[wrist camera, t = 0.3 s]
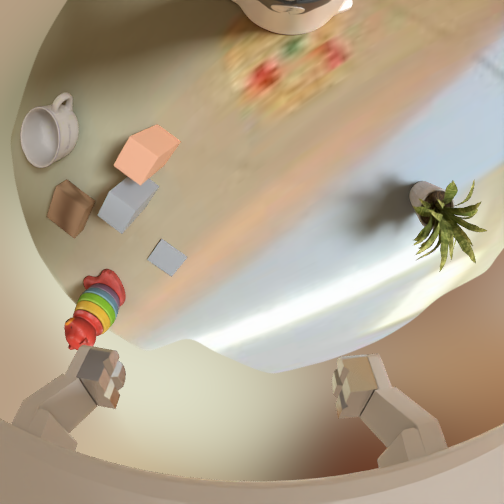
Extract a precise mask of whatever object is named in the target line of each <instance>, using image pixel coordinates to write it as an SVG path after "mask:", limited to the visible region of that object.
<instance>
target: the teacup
mask: <svg viewBox="0 0 504 504" xmlns="http://www.w3.org/2000/svg"><path fill="white" fill-rule="evenodd" d="M65 100H66V105H62V102H63V101H65ZM72 104H73V97H72V95H71V94H69V93H67V92H65V93H62V94H60V95H59V96H58V97H57V98H56V99H55V100H54V102H53V104H52V105H46V106H42V107H35V108H33V109H31V110H30V111H29V112H28V113H27V115H26V116H25V118H24V120H23V123H22V126H21V134H20V139H21V145H22V149H23V152H24V154H25V156H26V158H27V160H28V161H29V162H30V163H31V164H32V165H34V166H36V167H38V168H44V167H47V166H49V165H51V164H52V163H54V162H56V161H58V160H60V159H62V158H64V157H65V156H67V155H68V154H69V153H70V152H71V151H72V150H73V148H74V147H75V145H76V142H77V140H78V135H79V125H78V120H77V118H76V115H75V114H74V112H73V111H72V110H73V106H72Z"/></svg>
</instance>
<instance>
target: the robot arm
mask: <svg viewBox="0 0 504 504" xmlns="http://www.w3.org/2000/svg"><path fill="white" fill-rule="evenodd" d="M232 1H233V2H235V3H237V4H238V5H239V6H240V7H241V9H242V10H243V12H244V13H245V14H246V16H247V17H248V18H249V19H250V20H251V21H253V22H254V23H255V24H257V25H258V26H260V27H262V28H264V29H266V30H268V31H271V32H275V33H279V34H287V35H296V34H304V33H308V32H311V31H314V30H316V29H318V28H320V27H321V26H323V25H324V24H325V23H327V22H328V21H329V20H330V19H331V18H332V17H333V16H334V15H336V14H339V13H342V12H345V11H347V10H349V9H350V8H351V7H352V0H232ZM118 359H119V355H118V353H117V351H115V350H109V349H103V348H98V347H92V346H87V345H82V346H80V347H79V349H78V351H77V353H76V354H75V356H74V358H73V360H72V362H71V364H70V366H69V368H68V370H67V372H66V374H65V375H64V374H61V375H60V376H59V377H57V378H56V379H54V380H53V381H51V382H50V383H48V384H47V385H45V386H44V387H42V388H41V389H39V390H38V391H36V392H35V393H33V394H32V395H30V396H29V397H28V398H26V399H25V400H23V402H22V404H21V406H20V408H19V410H18V412H17V414H16V416H15V418H14V420H13V422H12V424H10V423H8V422H6V421H4V420H2V419H0V504H504V423H503V424H501V425H499V426H497V427H495V428H493V429H491V430H489V431H487V432H485V433H483V434H480V435H478V436H476V437H474V438H471V439H469V440H467V441H464V442H462V443H460V444H457V445H454V446H452V447H449V448H448V447H447V444H446V441H445V439H444V436H443V433H442V430H441V427H440V425H439V422H438V420H437V419H436V418H434V417H433V416H432V415H431V414H429V413H428V412H427V411H425V410H424V409H423V408H422V407H420V406H419V405H418V404H416V403H415V402H414V401H413V400H411V399H410V398H409V397H407V396H406V395H405V394H404V393H402V392H401V391H400V390H399V389H397V388H396V387H392V386H391V383H390V381H389V378H388V376H387V373H386V370H385V367H384V365H383V362H382V360H381V357H380V355H379V354H370V355H356V356H346V357H339V358H338V360H337V363H336V364H337V369H336V370H335V371H334V373H333V376H332V390H333V395H335V396H336V397H337V398H338V399H337V401H336V404H335V405H336V410H337V415H338V419H341V418H351V417H360V419H361V420H362V421H363V422H364V423H365V424H366V425H367V426H368V427H369V428H370V430H371V431H372V432H373V433H374V434H375V435H376V436H377V437H378V438H379V439H380V440H381V441H382V442H383V444H385V446H386V447H387V449H386V450H385V452H383V453H382V454H381V456H380V457H379V458H378V459H377V461H378V466H379V468H377V469H373V470H368V471H363V472H357V473H351V474H346V475H339V476H331V477H323V478H314V479H304V480H289V481H225V480H210V479H200V478H191V477H190V478H189V477H183V476H175V475H169V474H163V473H157V472H151V471H146V470H141V469H137V468H132V467H128V466H124V465H119V464H116V463H112V462H108V461H104V460H101V459H97V458H94V457H90V456H88V455H84V454H81V453H79V452H76V451H75V449H76V446H77V442H76V440H75V439H74V438H73V437H72V436H71V435H70V434H69V433H70V432H71V431H72V430H73V429H74V428H75V427H76V426H77V425H78V424H79V423H80V422H81V421H82V420H83V419H85V418H86V417H87V416H88V415H89V414H90V413H91V412H92V411H93V410H94V409H95V408H96V407H97V405H98V406H103V407H108V408H114V409H115V408H116V406H117V403H118V400H119V397H120V394H119V392H118V390H119V389H120V388H122V387H123V385H124V382H125V375H126V373H125V368H124V366H123V364H122V363H121V362H120V361H118Z"/></svg>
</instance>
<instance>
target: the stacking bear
mask: <svg viewBox="0 0 504 504" xmlns="http://www.w3.org/2000/svg"><path fill="white" fill-rule="evenodd" d="M84 287H85V289H86V291H85V292H84V293H83V294H82V295H81V296H80V298H79V300H78V302H77V305H76V308H75V311H74V314H73V318H70V319H68V320H67V321H66V323H65V336H66V340H67V342H68V343H69V349H70V350H73V349H76V350H78V349H79V347H80V346H82V345H87V346H92V347H93V345H94V343H95V340H96V336H99V335H101V334H103V333H105V332H106V331H107V330H108V328H109V327H110V326H111V325H112V324H113V323H114V321H115V319H116V317H117V314H118V310H119V307H120V306H121V305H122V304H123V303H124V302H125V291H124V287H123V285H122V283H121V281H120V279H119V278H118V276H117V275H116V274H115V273H114V272H113V271H111V270H109V269H106V270H103V271H102V273H101V275H100V276H98V277H92V276H87V277H85V279H84Z"/></svg>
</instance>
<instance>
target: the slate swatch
mask: <svg viewBox="0 0 504 504" xmlns="http://www.w3.org/2000/svg"><path fill="white" fill-rule="evenodd" d="M186 259H187V256H185V255H184V254H182V253H181V252H180V251H178V250H177V249H175V248H174V247H172V246H171V245H170V244H168V243H167V242H165V241H164V240H163V239H161V241H160V242H159V243H158V245H157V246H156V248H155V249H154V250H153V252H152V253H151V255H150V256H149V258H148V259H147V260H148V261H150V262H151V263H153V264H154V265H156V266H157V267H158V268H160V269H161V270H163V271H164V272H166V273H167V274H169V275H170V276H171V277H172V276H173V274H174V273H175V272H176V271H177V269H178V268H179V267H180V266H181V265H182V263H183V262H184V261H185V260H186Z"/></svg>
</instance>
